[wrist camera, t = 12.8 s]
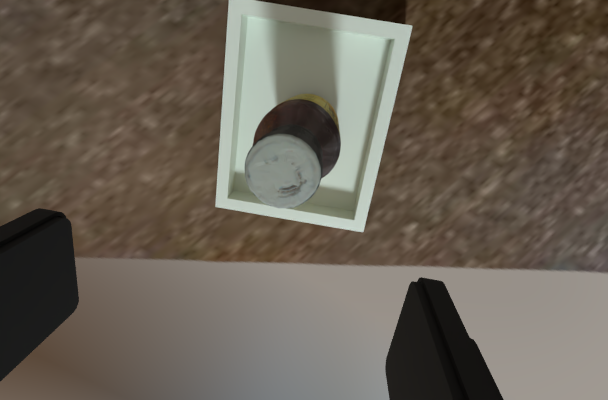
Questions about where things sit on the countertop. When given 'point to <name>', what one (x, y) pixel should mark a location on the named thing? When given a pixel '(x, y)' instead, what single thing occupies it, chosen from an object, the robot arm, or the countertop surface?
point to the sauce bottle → (293, 151)
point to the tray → (309, 80)
